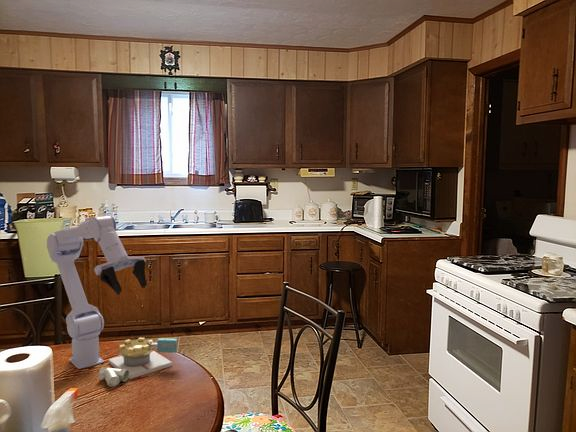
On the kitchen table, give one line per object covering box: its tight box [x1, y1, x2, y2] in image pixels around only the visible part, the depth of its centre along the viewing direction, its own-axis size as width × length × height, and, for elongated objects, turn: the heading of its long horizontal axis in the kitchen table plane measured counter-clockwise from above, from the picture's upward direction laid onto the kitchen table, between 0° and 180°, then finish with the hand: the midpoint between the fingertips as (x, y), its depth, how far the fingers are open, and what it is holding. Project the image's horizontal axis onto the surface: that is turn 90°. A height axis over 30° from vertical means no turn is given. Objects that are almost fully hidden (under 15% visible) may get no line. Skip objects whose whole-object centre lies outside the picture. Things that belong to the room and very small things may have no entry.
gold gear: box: [119, 337, 178, 358], centre depth 145 cm, size 18×10×4 cm, turn 87°
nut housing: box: [108, 350, 173, 380], centre depth 146 cm, size 16×14×4 cm
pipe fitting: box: [98, 366, 130, 388], centre depth 133 cm, size 8×4×7 cm
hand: (132, 289), depth 127 cm, fingers open, 7 cm apart
